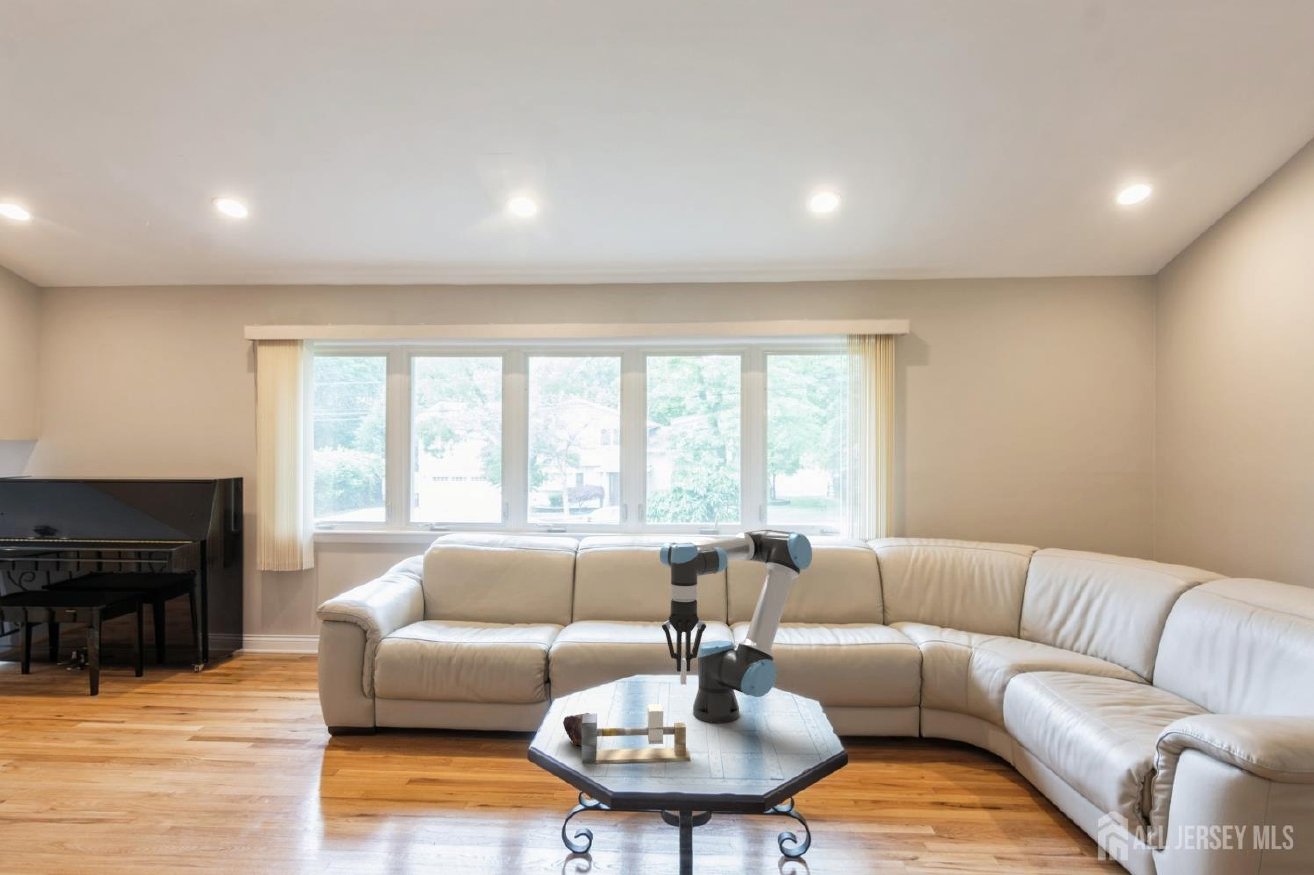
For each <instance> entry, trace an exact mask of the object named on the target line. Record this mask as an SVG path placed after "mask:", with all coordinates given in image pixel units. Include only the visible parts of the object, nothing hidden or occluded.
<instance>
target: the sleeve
mask: <svg viewBox="0 0 1314 875" xmlns="http://www.w3.org/2000/svg"><path fill="white" fill-rule="evenodd" d="M647 727H649V735H647V741H648V745H664V735H663V727H664V708H663V704H662V703H658V704H656V703H653V704H652V703H651V704H650V703H649V704H647Z"/></svg>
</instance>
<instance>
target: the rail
mask: <svg viewBox="0 0 1314 875" xmlns="http://www.w3.org/2000/svg"><path fill="white" fill-rule="evenodd" d="M582 714H583V718H582V745H581V764H582V763H583V764H611V763H614V764H615V763H618V764H619V763H642V762H643V763H645V762H646V763H647V762H650V763H651V762H653V763H654V762H680V761H681V762H682V761H691V756H690V753H689V748H688V747H687V726H686V723H685V722H674V724H673V726H663V736H669V735H670V736H671V735H674V736H673V738H674V739H673V747H660V748H659V747H655V748H623V749H622V748H620V749H614V748H613V749H598V746H597V745H598V737H625V736H626V737H627V736H629V737H630V736H648V735H649V727H648V726H647V727H645V726H643V727H612V728H611V727H610V728H609V727H607V728H606V727H604V728H598V713H589V714H585V713H582Z"/></svg>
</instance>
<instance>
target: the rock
mask: <svg viewBox="0 0 1314 875" xmlns="http://www.w3.org/2000/svg"><path fill="white" fill-rule="evenodd" d="M583 714H590V712H586V713H579V714H575V715H572V714H571V715H567V716H565V717H564V719H563V720H562V721H563V722H562V725H563V727H564V730H565V732H566V735H567V736H568V739H569V740H570V741H571V742H572V743H571V744H572V745H574V746H578V745H579V746H582V718H583Z"/></svg>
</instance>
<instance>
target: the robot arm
mask: <svg viewBox="0 0 1314 875" xmlns="http://www.w3.org/2000/svg"><path fill="white" fill-rule="evenodd" d="M659 560H660V562H661V564H662V565H663V566H666V567H668V568H670V598H671V599H670V615H669V617H668V620H667V621H665V622H662V623H661V629H662V630H663V631H664V634H665V637H666V641H667V646H668V650H669V655H670V658H671V659H674V660H675V661H676V664H675V665H676V666H675V668H676V671H677V672H678V673H679V682H680V685H687V672H691V661H692V659H697V662H698V664H697V666H698V667H697V668H698V676H697V677H698V689H697V692H696V695H695V698H694V702H693V705H692V713H693V716H694V717H695V718H697V719H699V720H700V721H703V722H707V723H713V724H714V723H715V724H716V723H717V724H719V723H720V724H723V723H729V722H733V721H735V720H737V719H738V718H739V716H740V707H739V703H738V699H737V696H736V692H740V693H742V694H744V695H746V696H751V697H754V698H760V697H762V698H763V697H764V696H765V695H767V694H768V693H769V692H771V690H772V689H773V687H774V685H775V683H776V680H777V674H778V673H777V672H776V671H777V666H776V664H775V662H774V659H775V656H774V654H773V652H772V648H773V644H774V641H775V638H776V635H777V631H778V629H779V625H780V622H781V619H782V616H783V612H784V609H785V606H786V604H787V603H786V602H787V599H788V596H789V592H790V590H791V587H792V582H793V581H794V580H795V579H797V578H799V577H800V576H799V575H800V573H801V571H802V570H806V569H808V567H810V565H811V564H812V560H813V550H812V545H811V542H810V540H809V539H808V538H807V536H806V535H804V534H802V533H798V532H795V531H791V532H790V531H783V530H782V531H781V530H772V529H760V530H753V531H747V532H740V533H738V534H736V536H731V537H722V538H716V539H706V540H698V541H691V542H690V541H689V542H682V543H677V542H666V543H663V545H662V546H661V547H660V550H659ZM734 560H735V561H736V560H739V561H741V562H748V561H749V562H750V561H752V562H757V563H758V562H759V563H763V564H764V566H765V569H766V571H767V572H766V576H765V578H764V580H763V583H762V587H761V591H760V593H759V597H758V599H757V602H756V606H755V608H754V612H753V615H752V618H751V621H750V624H749V627H748V630H747V633H746V637H745V639H744V640H743V641H740V642H739V643H738V646H737V649H735V644H734V642H732V641H731V640H711V641H707V642H704V643H702V644H701V640H702V638H703V633H704V632H705V630H706V628H707V624H706V623H705V622H703V621H701V620H700V618H699V616H698V600H697V598H698V577H700V576H705V575H706V576H707V575H712V574H713V575H715V574H719V573H722V572H723V571H725V569H726V568H727V566H728V563H729V561H734ZM671 626H672V628H673V629H674V631H675V632H676V642H675V643H676V647H675V648H676V652H675V650H674V644H673V640H672V637H671V632H670V629H671ZM695 627H696V629H697V630H696V634H695V638H694V642H693V646H692V643H691V642H692V641H691V640H692V638H691V637H692V631H693V630H694V629H695ZM683 633H685V634H684V635H685V636H684V637H685V644H684V645H685V646H684V647H685V648H684V649H685V650H684V652H685V657H682V652H683V651H682V646H683V645H682V644H683V643H682V638H683ZM691 646H692V648H691ZM735 691H736V692H735Z"/></svg>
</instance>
